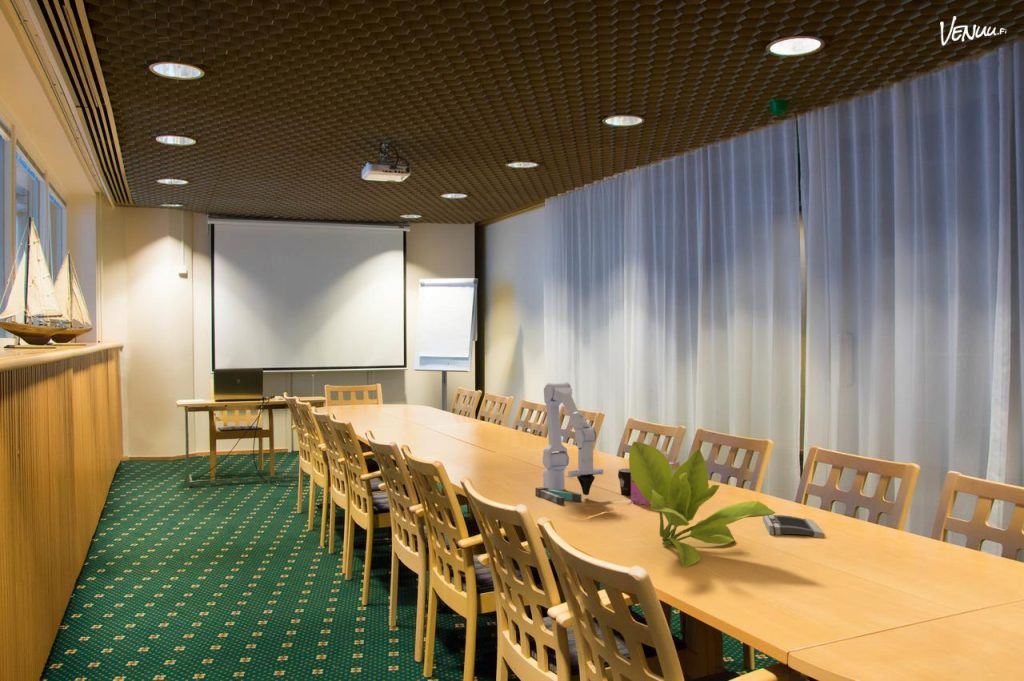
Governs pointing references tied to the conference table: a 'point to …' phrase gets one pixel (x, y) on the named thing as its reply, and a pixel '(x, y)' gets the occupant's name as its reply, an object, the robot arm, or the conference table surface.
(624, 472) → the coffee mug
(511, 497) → the conference table surface
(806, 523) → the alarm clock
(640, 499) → the gum box
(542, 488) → the tongs base
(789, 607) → the conference table surface
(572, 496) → the bar
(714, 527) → the artificial plant
